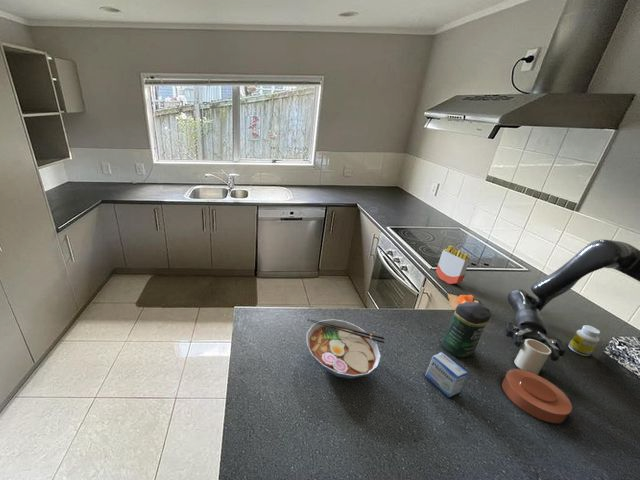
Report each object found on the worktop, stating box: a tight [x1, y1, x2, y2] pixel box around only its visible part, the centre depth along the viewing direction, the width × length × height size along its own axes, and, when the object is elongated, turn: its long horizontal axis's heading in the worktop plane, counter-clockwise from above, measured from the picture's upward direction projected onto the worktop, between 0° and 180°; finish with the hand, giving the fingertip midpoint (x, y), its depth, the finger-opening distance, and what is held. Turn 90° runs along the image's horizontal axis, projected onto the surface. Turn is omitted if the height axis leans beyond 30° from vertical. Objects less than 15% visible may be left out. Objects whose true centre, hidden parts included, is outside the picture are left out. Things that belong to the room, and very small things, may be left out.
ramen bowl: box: [306, 318, 385, 379], centre depth 90 cm, size 25×23×8 cm
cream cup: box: [513, 339, 552, 375], centre depth 91 cm, size 6×6×9 cm
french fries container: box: [435, 245, 471, 285], centre depth 136 cm, size 5×11×18 cm, turn 21°
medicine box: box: [425, 352, 469, 398], centre depth 83 cm, size 8×4×9 cm, turn 23°
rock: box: [447, 292, 480, 310], centre depth 121 cm, size 12×12×4 cm
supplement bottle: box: [568, 324, 601, 357], centre depth 98 cm, size 5×5×10 cm
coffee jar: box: [441, 301, 492, 358], centre depth 95 cm, size 10×8×19 cm
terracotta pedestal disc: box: [501, 368, 573, 424], centre depth 81 cm, size 14×14×4 cm
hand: (536, 351), depth 89 cm, fingers open, 8 cm apart
